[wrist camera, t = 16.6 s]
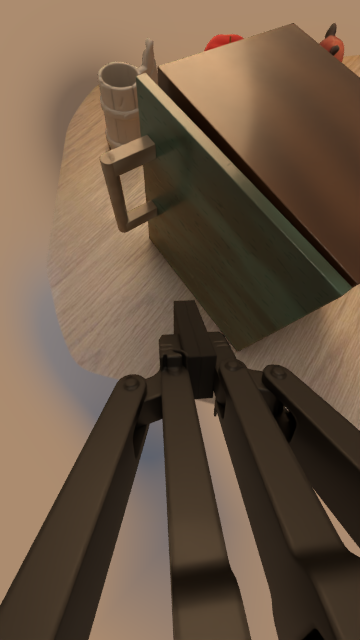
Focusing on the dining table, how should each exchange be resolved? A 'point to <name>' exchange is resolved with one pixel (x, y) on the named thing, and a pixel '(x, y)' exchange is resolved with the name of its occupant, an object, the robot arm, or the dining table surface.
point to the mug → (124, 97)
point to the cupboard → (284, 130)
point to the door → (217, 226)
